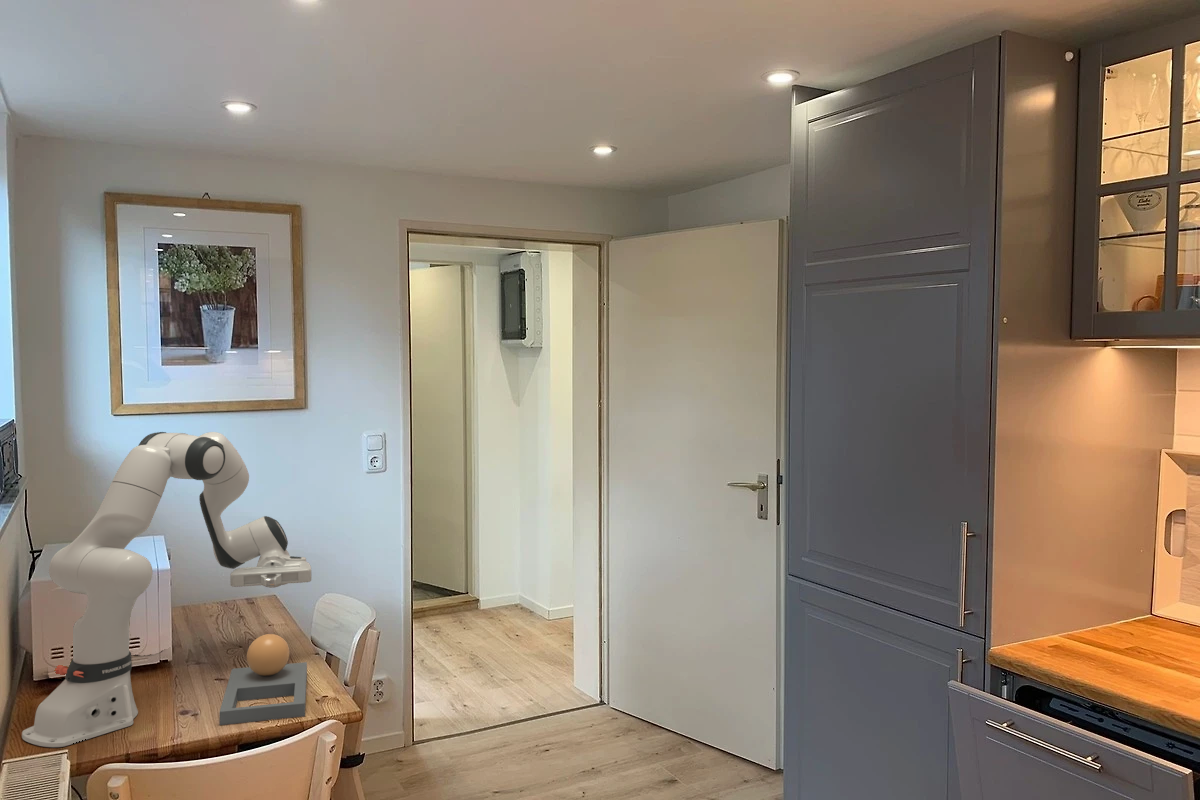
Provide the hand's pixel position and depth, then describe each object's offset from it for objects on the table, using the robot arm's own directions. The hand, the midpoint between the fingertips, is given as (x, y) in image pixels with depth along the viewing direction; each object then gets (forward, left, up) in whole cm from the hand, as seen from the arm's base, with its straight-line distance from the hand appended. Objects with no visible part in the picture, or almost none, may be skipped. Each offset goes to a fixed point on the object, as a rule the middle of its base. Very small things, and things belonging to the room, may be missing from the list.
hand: (270, 582), depth 226 cm
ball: (-7, -6, -16) cm, 18 cm away
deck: (-12, -11, -24) cm, 29 cm away
